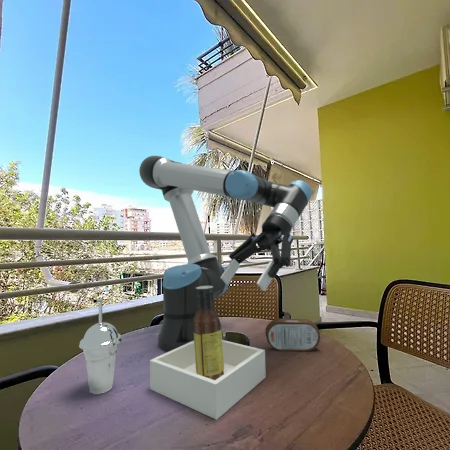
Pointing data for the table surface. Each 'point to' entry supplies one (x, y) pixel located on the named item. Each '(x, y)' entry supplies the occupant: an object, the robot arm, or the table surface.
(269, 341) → the tin
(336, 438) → the table surface
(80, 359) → the table surface
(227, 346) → the box
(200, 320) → the sauce bottle
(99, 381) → the cup with straw
